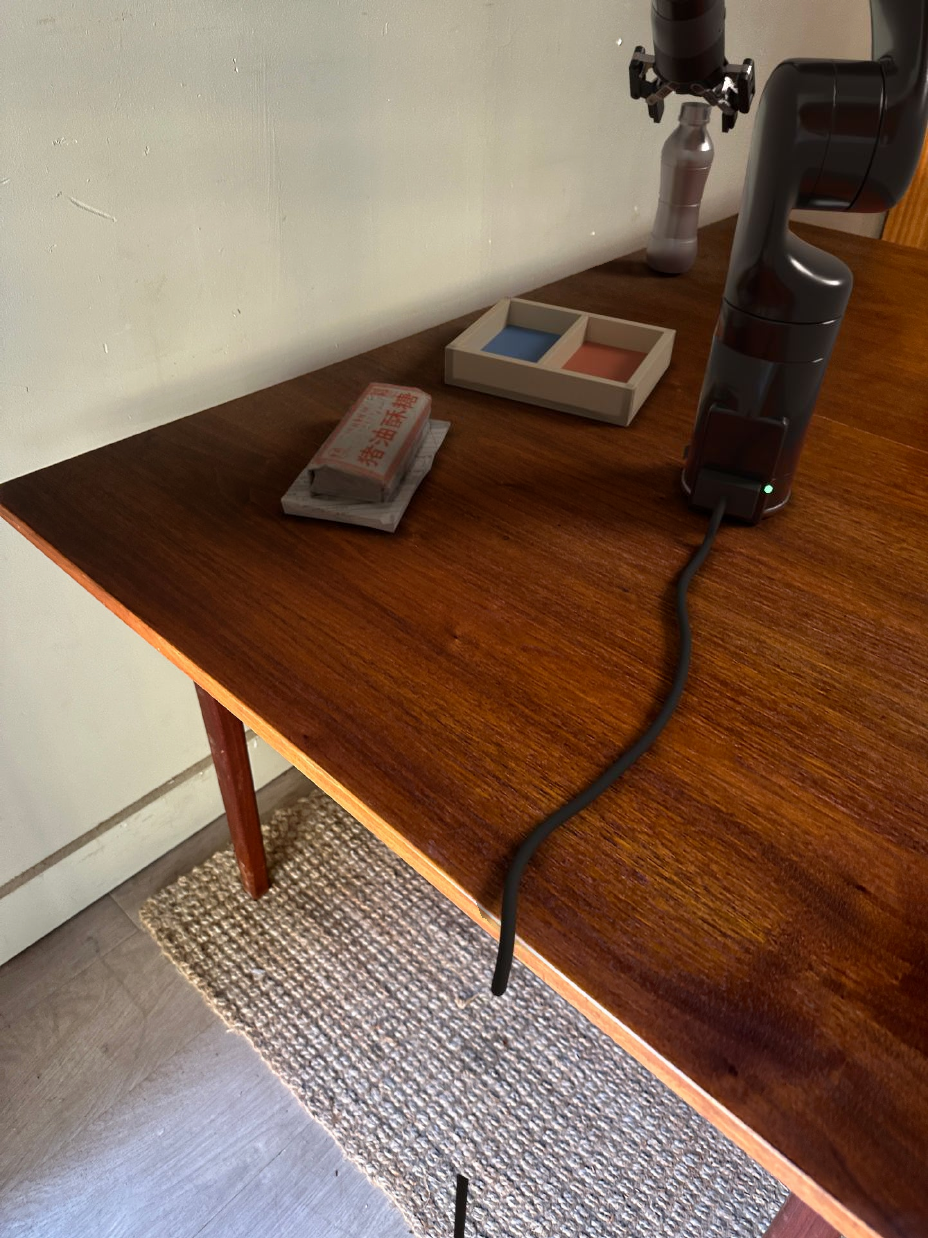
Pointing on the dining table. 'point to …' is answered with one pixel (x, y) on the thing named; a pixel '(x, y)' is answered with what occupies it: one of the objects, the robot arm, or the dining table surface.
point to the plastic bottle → (681, 190)
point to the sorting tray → (561, 359)
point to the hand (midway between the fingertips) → (693, 121)
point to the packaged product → (370, 460)
